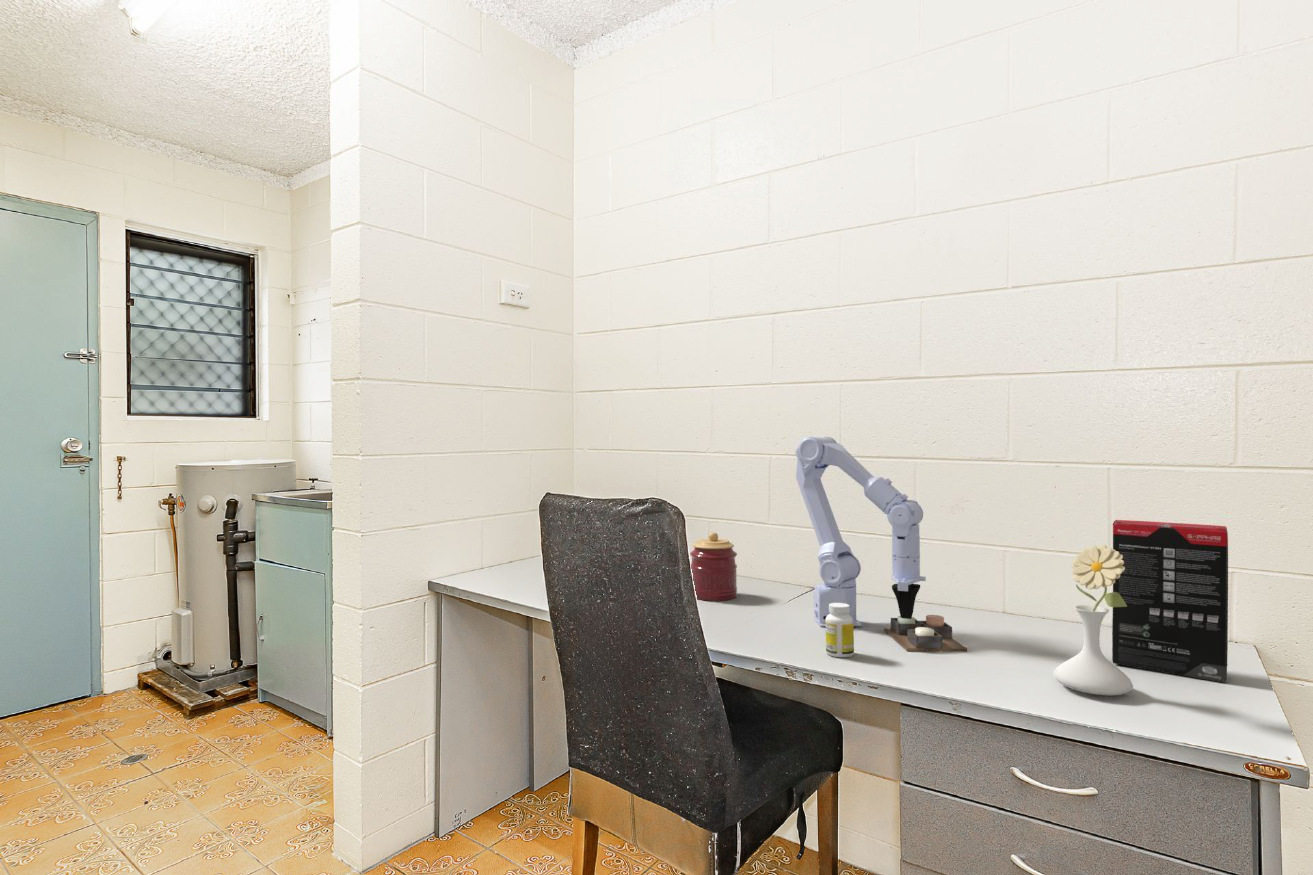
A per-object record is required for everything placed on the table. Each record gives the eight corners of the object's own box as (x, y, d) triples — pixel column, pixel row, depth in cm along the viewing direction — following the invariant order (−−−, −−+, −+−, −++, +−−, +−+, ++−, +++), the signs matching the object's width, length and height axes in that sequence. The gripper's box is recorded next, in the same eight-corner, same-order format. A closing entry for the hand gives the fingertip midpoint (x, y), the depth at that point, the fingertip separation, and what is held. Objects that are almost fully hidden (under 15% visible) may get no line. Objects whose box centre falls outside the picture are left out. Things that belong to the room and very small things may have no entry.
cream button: (919, 644, 138) (918, 631, 138) (912, 639, 142) (912, 627, 142) (936, 644, 138) (936, 631, 138) (930, 639, 142) (930, 627, 142)
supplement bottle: (854, 651, 137) (854, 602, 137) (853, 659, 132) (852, 609, 132) (826, 649, 139) (826, 601, 139) (824, 656, 134) (824, 606, 134)
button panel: (907, 651, 137) (907, 636, 137) (884, 631, 152) (884, 617, 152) (967, 651, 137) (967, 636, 137) (938, 631, 152) (938, 617, 152)
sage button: (900, 631, 148) (900, 619, 148) (895, 627, 151) (895, 615, 151) (917, 632, 147) (917, 619, 147) (911, 627, 151) (911, 615, 151)
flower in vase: (1038, 679, 121) (1037, 538, 121) (1099, 677, 122) (1098, 537, 122) (1091, 707, 108) (1089, 549, 108) (1159, 705, 109) (1157, 548, 109)
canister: (744, 600, 183) (743, 534, 183) (697, 602, 180) (697, 536, 180) (728, 590, 196) (727, 528, 196) (684, 592, 193) (684, 530, 193)
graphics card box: (1228, 675, 123) (1226, 523, 123) (1231, 685, 117) (1228, 527, 118) (1114, 657, 133) (1112, 517, 133) (1111, 666, 128) (1110, 521, 128)
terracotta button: (929, 631, 145) (929, 619, 145) (923, 626, 149) (923, 614, 149) (946, 631, 145) (946, 619, 145) (940, 626, 149) (940, 614, 149)
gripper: (922, 562, 141) (923, 628, 141) (927, 552, 154) (928, 612, 154) (887, 560, 144) (887, 624, 144) (894, 550, 157) (895, 609, 157)
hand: (906, 618), depth 149 cm, fingers closed, pressing on sage button
